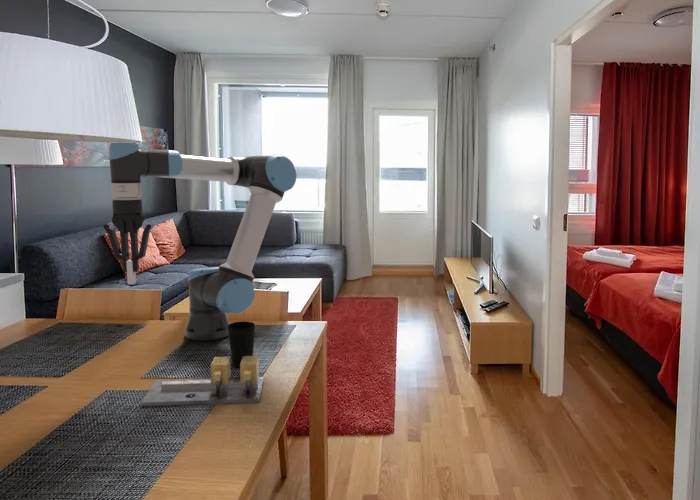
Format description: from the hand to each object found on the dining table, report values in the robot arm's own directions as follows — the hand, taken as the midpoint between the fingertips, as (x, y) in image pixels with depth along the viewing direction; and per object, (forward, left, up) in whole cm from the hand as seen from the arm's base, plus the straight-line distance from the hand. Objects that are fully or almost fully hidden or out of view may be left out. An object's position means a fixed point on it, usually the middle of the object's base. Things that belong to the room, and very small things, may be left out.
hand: (131, 283), depth 152 cm
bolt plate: (+20, +23, -24) cm, 39 cm away
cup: (+1, +30, -25) cm, 39 cm away
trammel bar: (+21, +24, -23) cm, 39 cm away
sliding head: (+21, +27, -23) cm, 41 cm away
